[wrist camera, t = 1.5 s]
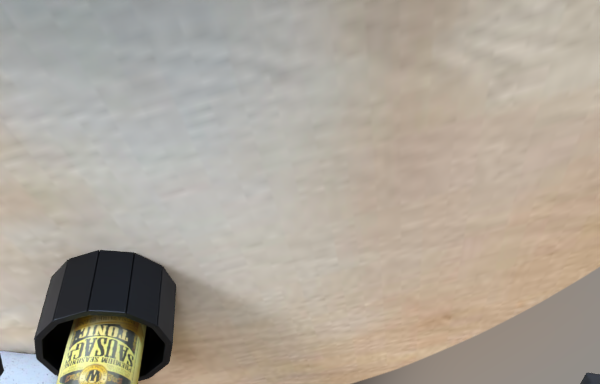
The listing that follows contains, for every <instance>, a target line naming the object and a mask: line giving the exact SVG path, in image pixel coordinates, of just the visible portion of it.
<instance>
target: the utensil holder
mask: <svg viewBox="0 0 600 384" xmlns="http://www.w3.org/2000/svg"><path fill="white" fill-rule="evenodd" d="M175 296H176V284H175V283H174V282H173V280H172V279H171V277H170V276H169V275H168V273H167V272H166V270H165V269H164V267H162V266H161V265H159V264H157V263H155V262H153V261H151V260H149V259H146V258H144V257H142V256H140V255H138V254H136V253H135V254H134V253H131V252H118V251H105V250H100V251H99V250H98V251H95V252H91V253H88V254H84V255H81V256H78V257H74V258H71V259H69V260H67V261H66V262H65V263H64V264H63V266H62V267H61V268H60V269H59V270H58V271H57V272H56V273H55V274H54V275H53V276H52V278H51V281H50V284H49V288H48V291H47V295H46V299H45V302H44V306H43V309H42V313H41V317H40V320H39V324H38V328H37V331H36V335H35V338H34V340H35V352H36V358H37V360H38V361H39V362H40V363H41V364H43V365H44V366H45V367H46V368H47V369H48V370H50V371H51V372H52V373H53V374H54V375H57V376H58V375H59V372H60V368H61V364H62V360H63V356H64V353H65V349H66V345H67V342H68V338H69V335H70V331H71V328H72V324H73V320H74V319H78V318H81V317H85V316H88V315H96V316H116V317H126V318H128V319H131V320H133V321H136V322H138V323H141V324H143V325H146V326H147V327H146V333H145V340H144V347H143V354H142V360H141V366H140V373H139V379H138V381H141V380H145V379H148V378H149V377H152V376H153V375H154V374H156V373H157V372H158V371H160V370H161V369H162V368H163V367H165V366H166V365H167V364H168V363H169V362H170V356H171V351H172V345H173V330H174V313H175Z"/></svg>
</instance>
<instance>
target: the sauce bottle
mask: <svg viewBox="0 0 600 384" xmlns="http://www.w3.org/2000/svg"><path fill="white" fill-rule="evenodd" d="M146 327H147V326H146V325H143V324H141V323H138V322H136V321H133V320H131V319H128V318H126V317H116V316H96V315H88V316H85V317H81V318H78V319H74V320H73V324H72V328H71V331H70V335H69V338H68V342H67V345H66V349H65V353H64V356H63V360H62V364H61V368H60V372H59V375H58V379H57V383H56V384H138V379H139V373H140V366H141V360H142V354H143V347H144V340H145V333H146Z"/></svg>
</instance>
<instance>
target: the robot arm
mask: <svg viewBox="0 0 600 384" xmlns="http://www.w3.org/2000/svg"><path fill="white" fill-rule="evenodd" d="M3 372H4V368H3V364H2V359H1V355H0V376H1V375H2V373H3ZM581 384H600V374H593V373H586V375H585V377H584V378H583V380H582V382H581Z"/></svg>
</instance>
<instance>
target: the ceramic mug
mask: <svg viewBox="0 0 600 384" xmlns="http://www.w3.org/2000/svg"><path fill="white" fill-rule="evenodd" d="M0 355H1V359H2V364H3V368H4V372H3V373H2V375H1V376H0V384H56V383H57V379H58V376H57V375H54V374H53V373H52V372H51V371H50V370H48V369H47V368H46V367H45V366H44V365H43V364H41V363H40V362H39V361H38V360H37V358H36V354H23V353H16V352H7V351H0Z"/></svg>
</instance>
